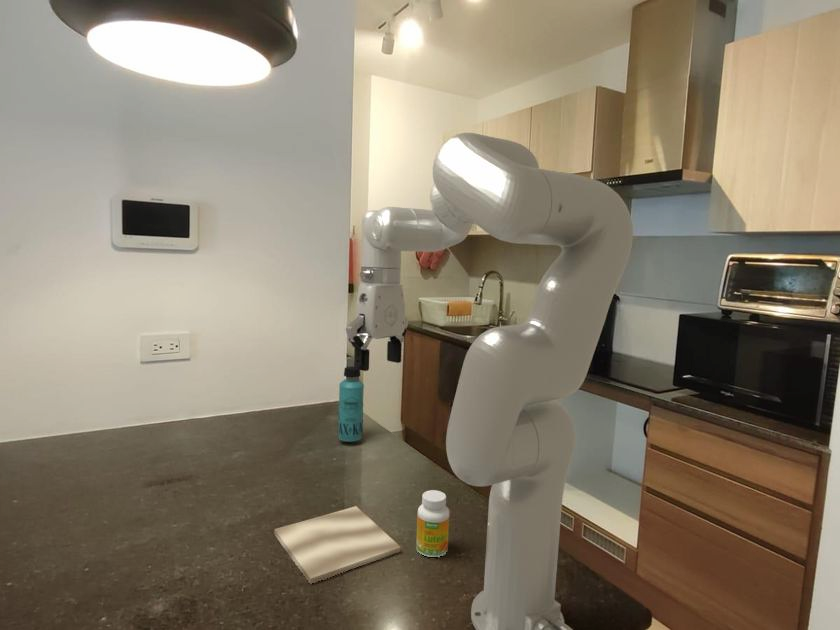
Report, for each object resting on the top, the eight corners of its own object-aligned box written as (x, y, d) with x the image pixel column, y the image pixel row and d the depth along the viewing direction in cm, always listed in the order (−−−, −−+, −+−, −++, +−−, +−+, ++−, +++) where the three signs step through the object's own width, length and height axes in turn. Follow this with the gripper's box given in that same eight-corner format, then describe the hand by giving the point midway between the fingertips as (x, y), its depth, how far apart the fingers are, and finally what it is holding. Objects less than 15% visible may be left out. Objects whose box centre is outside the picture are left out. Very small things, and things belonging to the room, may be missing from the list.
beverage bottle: (334, 439, 135) (335, 365, 133) (358, 436, 138) (360, 363, 136) (341, 448, 130) (342, 371, 127) (366, 445, 132) (368, 369, 130)
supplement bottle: (420, 561, 84) (423, 504, 83) (412, 542, 89) (414, 489, 88) (452, 557, 86) (454, 501, 85) (442, 539, 91) (444, 486, 90)
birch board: (400, 552, 86) (400, 547, 86) (310, 584, 77) (310, 578, 77) (356, 511, 99) (356, 506, 99) (274, 534, 90) (274, 529, 90)
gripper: (365, 279, 89) (362, 376, 91) (423, 277, 103) (420, 361, 105) (333, 277, 93) (332, 369, 95) (393, 275, 107) (391, 356, 109)
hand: (378, 365), depth 100 cm, fingers open, 9 cm apart
